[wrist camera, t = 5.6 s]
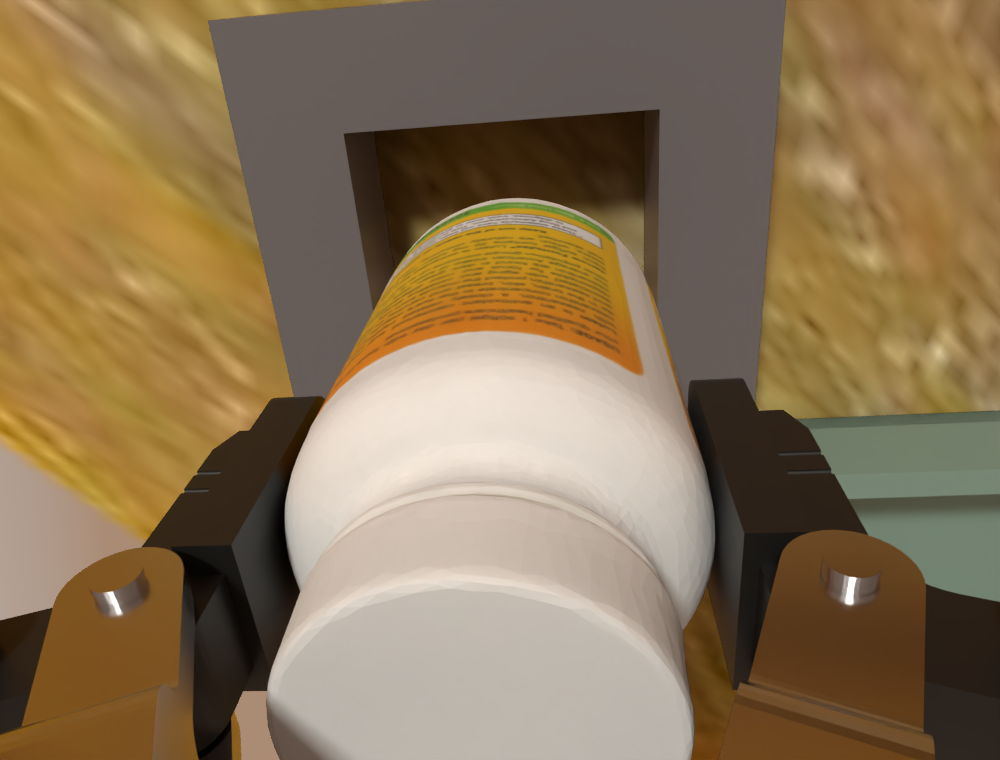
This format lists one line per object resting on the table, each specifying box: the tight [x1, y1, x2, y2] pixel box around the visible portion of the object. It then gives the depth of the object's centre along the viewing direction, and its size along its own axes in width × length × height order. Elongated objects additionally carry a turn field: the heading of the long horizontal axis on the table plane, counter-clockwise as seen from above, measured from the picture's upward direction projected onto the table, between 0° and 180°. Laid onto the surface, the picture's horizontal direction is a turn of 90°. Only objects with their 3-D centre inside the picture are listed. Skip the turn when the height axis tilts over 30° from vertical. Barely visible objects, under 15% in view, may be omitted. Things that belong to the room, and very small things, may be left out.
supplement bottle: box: [266, 198, 715, 760], centre depth 11 cm, size 5×5×10 cm
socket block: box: [208, 0, 786, 408], centre depth 20 cm, size 12×12×3 cm
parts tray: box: [796, 411, 1000, 602], centre depth 24 cm, size 12×12×3 cm
